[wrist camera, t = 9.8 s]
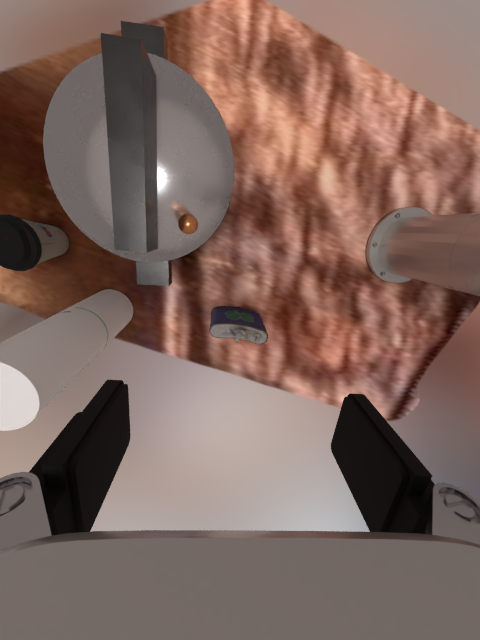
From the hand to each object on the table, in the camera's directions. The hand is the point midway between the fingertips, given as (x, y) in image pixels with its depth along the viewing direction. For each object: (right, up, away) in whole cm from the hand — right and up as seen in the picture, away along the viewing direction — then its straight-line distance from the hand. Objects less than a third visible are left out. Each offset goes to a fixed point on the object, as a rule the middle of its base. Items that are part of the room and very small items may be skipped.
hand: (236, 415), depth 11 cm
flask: (-1, +5, +36) cm, 37 cm away
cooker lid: (-10, +20, +17) cm, 28 cm away
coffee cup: (-30, +17, +30) cm, 45 cm away
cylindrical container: (-22, +6, +34) cm, 41 cm away
